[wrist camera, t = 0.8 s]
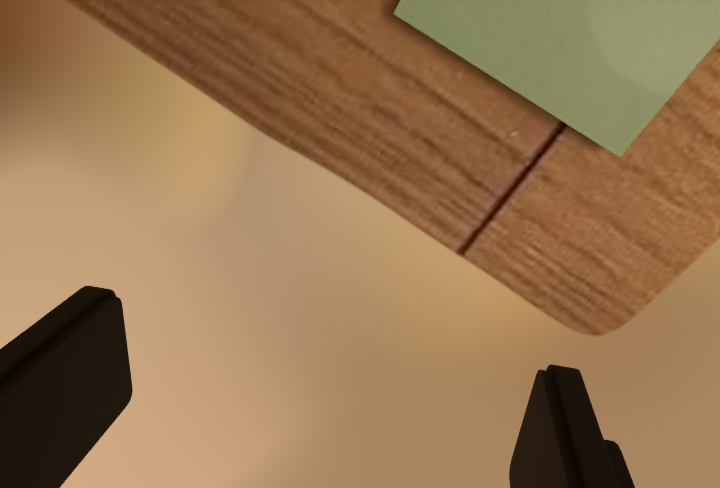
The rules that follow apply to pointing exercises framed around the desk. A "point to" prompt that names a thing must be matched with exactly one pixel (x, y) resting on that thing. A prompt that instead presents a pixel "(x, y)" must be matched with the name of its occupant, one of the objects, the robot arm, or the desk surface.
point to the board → (579, 53)
